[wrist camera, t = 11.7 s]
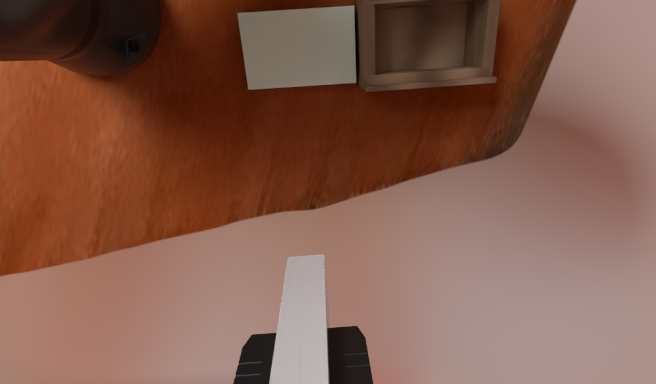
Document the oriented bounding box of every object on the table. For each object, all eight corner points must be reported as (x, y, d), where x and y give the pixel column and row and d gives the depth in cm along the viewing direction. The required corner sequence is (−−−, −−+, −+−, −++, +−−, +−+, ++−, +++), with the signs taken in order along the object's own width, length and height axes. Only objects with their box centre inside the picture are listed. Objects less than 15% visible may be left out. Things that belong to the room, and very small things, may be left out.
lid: (251, 87, 42) (248, 89, 40) (241, 15, 39) (237, 12, 37) (353, 81, 43) (356, 82, 40) (351, 8, 39) (354, 5, 37)
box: (358, 86, 42) (365, 92, 36) (355, -4, 39) (363, -17, 32) (468, 78, 42) (495, 82, 36) (476, -13, 39) (508, -27, 32)
